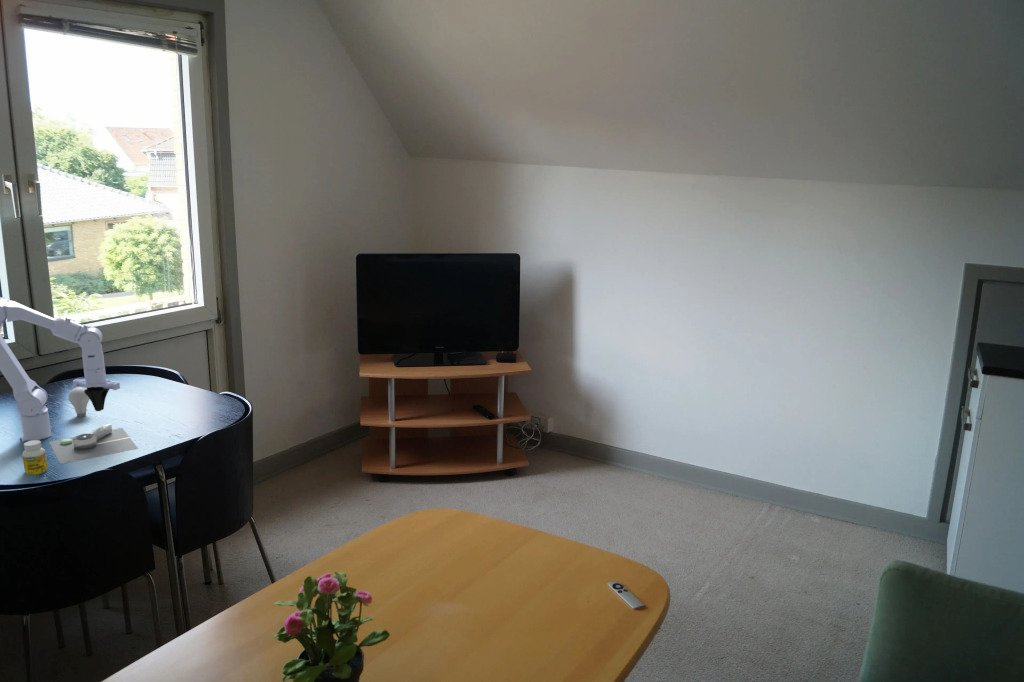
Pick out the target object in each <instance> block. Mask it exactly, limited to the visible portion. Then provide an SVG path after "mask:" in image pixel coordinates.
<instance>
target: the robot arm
mask: <svg viewBox="0 0 1024 682" xmlns="http://www.w3.org/2000/svg"><path fill="white" fill-rule="evenodd" d="M14 321H23V322H24V321H25V322H27V323H30V324H33V325H35V326H38V327H39V326H40V327H42V328H46V329H49V330H50V331H51V333H52V335H53V336H55V337H57V338H61V339H63V340H66V341H69V342H72V343H74V344H78V346H79V347H80V349H81V358H82V368H83V373H84V378H75V379H74V380H72V385H73V387H74V388H76V387H82V388H85V389H86V390H84V392H85V394H86V395H87V396H88V397H89V401H90V402H91V403H92V406H93V409H94V411H95V412H101V411H103V410H104V407H105V401H106V398H107V395H108V393H109V391H110V390H113V391H117V390H119V389H120V388H121V384H120V382H119V381H113V380H109V379H108V378H107V374H106V364H105V357H104V351H103V346H102V345H103V344H102V343H101V342H102V340H103V336H104V335H103V333H102V331H101V330H100V329H99V328H97V327H96V326H93V325H92V326H89V325H87V324H81V323H79V322H76V321H74V320H72V318H71V317H69V316H66V317H59V318H54V317H52V316H50V315H47V314H44V313H42V312H40V311H38V310H35V309H33V308H30V307H28V306H26V305H24V304H21V303H19V302H17V301H15V300H10V299H7V298H5V297H1V296H0V332H1V331H2V328H3V325H4V324H5V322H7V323H10V322H14ZM0 372H1V374H2V375H3V377H4V378H5V379H6V381H7V382H8V384H9V385H10V387H11V388H12V392H13V398H14V399H15V402H16V407H17V408H16V409H17V410H18V412H19V415H20V422H21V428H22V435H20V436H19V437H20V439H21V442H22V443H23V442H24V443H25V441H26V442H27V441H33V440H39V441H40V440H43V439H44V440H45V439H47V438H50V436H52V431H51V430H52V429H51V423H50V422H51V421H50V415H49V414H50V413H49V408H48V407H47V406H46V405H45V404H46V403H47V402H48V399H49V396H48V392H47V391H46V390H45V389H44V388H42V387H41V386H39V385H38V384H37V382H36V381H34V380H33V379H31V378H30V377H29V375H28V373H27V372H26V371H25V369H24V368H23V366H22V365H21V363H20V362H19V360H18V358H17V357H16V355H15V354H14V352H13V351H12V349H11V348H10V347H9V344H8V343H7V342H6V340H5V339H4V338H3V335H2V334H1V333H0Z"/></svg>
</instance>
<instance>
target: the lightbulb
mask: <svg viewBox="0 0 1024 682" xmlns="http://www.w3.org/2000/svg"><path fill="white" fill-rule="evenodd" d="M86 389H87V388H86V387H82V386H77V387H74V388H73V389H71V390H70V391H69V393H68V395H67V396H68V397H67V398H68V400H69V401H68V402H69V403H70V404H71V405H72V406H73V409H74V411H75V413H76V417H77V418H82V417H86V416H87V406H88V404H89V401H90V399H89V397H88V396H87V395H86V394H85V392H84V390H86Z"/></svg>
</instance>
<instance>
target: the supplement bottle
mask: <svg viewBox="0 0 1024 682" xmlns="http://www.w3.org/2000/svg"><path fill="white" fill-rule="evenodd" d="M23 449H24V450H23V451H22V461H23V469H24V473H25V474H26V475H29V476H30V475H31V476H33V475H34V476H35V475H39V474H43V473H45V472H47V471H48V470H49V467H48V462H47V461H48V460H47V455H46V450H45V449H44V448H43V447H42V441H40V440H33V441H30V440H27V441H26V442H24V443H23Z"/></svg>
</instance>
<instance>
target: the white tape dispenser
mask: <svg viewBox="0 0 1024 682" xmlns="http://www.w3.org/2000/svg"><path fill="white" fill-rule="evenodd" d="M112 430H113V427H112V424H111V423H106V424H103V425H102V426H100V427H99V428H97V429H95V430H93V431H92V432H90V433H82V434H78V435H76V436H73V437H74V438H73V444H74V449H77V450H85V449H90V448H93V447H95V446H96V445H97V440H99V439H100V438H102V437H104V436H106V435H107V434H109V433H111V432H112Z"/></svg>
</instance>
